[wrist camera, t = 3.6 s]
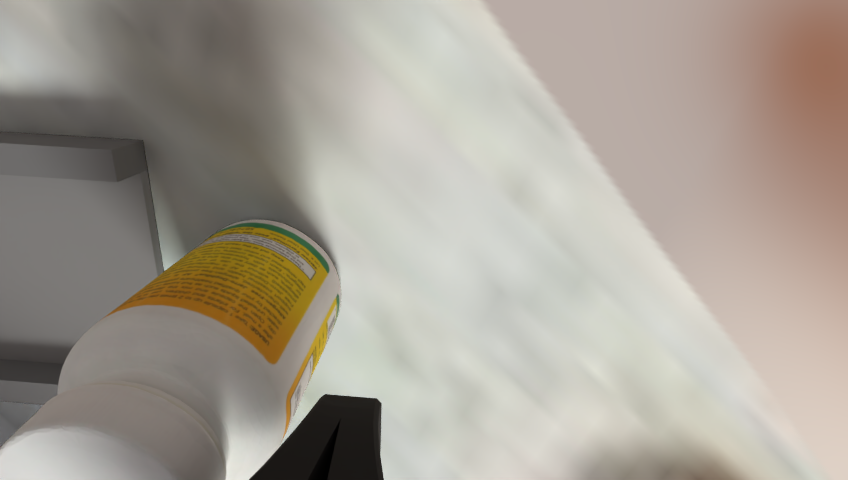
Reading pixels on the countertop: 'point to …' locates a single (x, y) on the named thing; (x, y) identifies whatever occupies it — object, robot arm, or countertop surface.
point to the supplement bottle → (190, 367)
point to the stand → (67, 249)
